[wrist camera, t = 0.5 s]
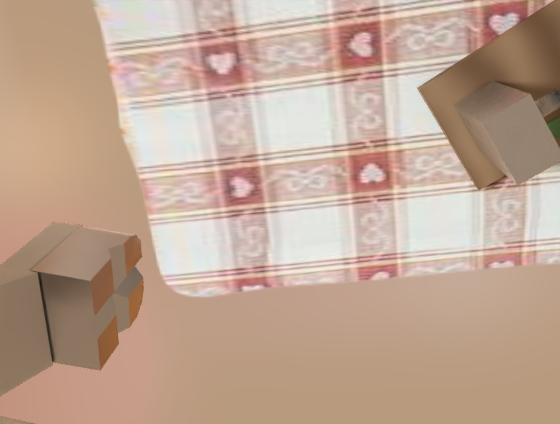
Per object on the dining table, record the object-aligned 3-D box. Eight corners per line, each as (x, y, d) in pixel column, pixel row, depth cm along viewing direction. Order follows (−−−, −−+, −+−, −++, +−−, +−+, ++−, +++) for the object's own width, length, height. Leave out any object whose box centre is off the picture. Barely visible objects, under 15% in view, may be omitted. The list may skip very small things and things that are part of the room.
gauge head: (496, 177, 53) (532, 210, 43) (454, 104, 51) (482, 123, 41) (564, 139, 51) (616, 165, 41) (523, 62, 49) (568, 71, 39)
